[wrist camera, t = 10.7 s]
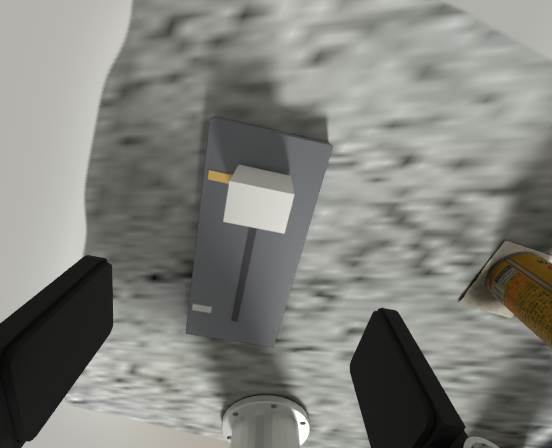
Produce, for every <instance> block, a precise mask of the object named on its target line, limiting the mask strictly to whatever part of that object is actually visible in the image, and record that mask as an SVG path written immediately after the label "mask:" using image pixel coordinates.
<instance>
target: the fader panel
mask: <svg viewBox="0 0 552 448" xmlns="http://www.w3.org/2000/svg"><path fill="white" fill-rule="evenodd" d="M332 147H333V146H332V145H331V144H330V143H329V142H324V141H320V140H315V139H311V138H307V137H302V136H298V135H294V134H289V133H285V132H281V131H276V130H272V129H268V128H263V127H259V126H254V125H250V124H246V123H241V122H237V121H233V120H228V119H224V118H220V117H212V118H210V123H209V132H208V141H207V150H206V159H205V167H204V176H203V185H202V194H201V203H200V212H199V220H198V229H197V238H196V247H195V256H194V265H193V273H192V282H191V291H190V300H189V309H188V318H187V326H186V334H191V335H198V336H204V337H210V338H216V339H223V340H229V341H235V342H242V343H248V344H254V345H261V346H267V347H273V348H274V344H275V341H276V337H277V334H278V331H279V327H280V324H281V320H282V317H283V314H284V310H285V307H286V303H287V300H288V297H289V293H290V290H291V286H292V283H293V280H294V276H295V273H296V269H297V266H298V263H299V259H300V256H301V252H302V249H303V246H304V242H305V239H306V235H307V232H308V229H309V225H310V222H311V218H312V215H313V212H314V208H315V205H316V202H317V198H318V195H319V191H320V188H321V185H322V181H323V178H324V174H325V171H326V168H327V164H328V161H329V157H330V154H331V151H332ZM238 165H243V166H248V167H253V168H257V169H262V170H267V171H271V172H276V173H280V174H285V175H290V176H291V179H292V184H293V189H294V194H295V195H294V199H293V203H292V207H291V210H290V214H289V218H288V222H287V226H286V230H285V234H283V233H278V232H273V231H268V230H263V229H258V228H252V227H247V226H242V225H237V224H232V223H227V222H223V220H224V213H225V207H226V200H227V194H228V187H229V181H230V179H231V177H232V176H233V174H234V172H235V170H236V168H237V167H238Z"/></svg>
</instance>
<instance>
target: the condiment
mask: <svg viewBox="0 0 552 448" xmlns="http://www.w3.org/2000/svg"><path fill="white" fill-rule="evenodd" d="M482 283H484V284H482ZM459 304H462V305H467V306H470V307H474V308H478V309H481V310H485V311H489V312H492V313H495V314H498V315H502V316H505V317H508V318H512V317H513V316H514V315H515V316H516V317H517V318H518V319H519V320H520V321H522V322H523V323H524V324H525V325H526V326H527V327H528V328H529V329H530V330H532V331H533V332H534V333H535V334H536V335H537V336H538V337H539V338H540V339H542V340H543V341H544V342H545V343H546V344H547V345H548V346H549V347H550V348H551V349H552V256H551V255H548V254H545V253H542V252H539V251H536V250H533V249H530V248H527V247H524V246H521V245H518V244H515V243H512V242H509V241H506V240H505V242H504V243H503V244H502V245H501V247H500V248H499V249H498V250H497V252H496V253H495V254H494V255H493V257H492V259H491V260H489V262H488V263H487V264H486V266H485V268H484V269H483V270H482V272H481V273H480V274H479V276H478V278H477V280H476V281H475V282H474V283H473V284H472V286H471V287H470V288H469V289H468V291H467V292H466V294H465V296H464V298H463V299H462V300H461V301H460V302H459Z"/></svg>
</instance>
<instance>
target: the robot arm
mask: <svg viewBox="0 0 552 448" xmlns="http://www.w3.org/2000/svg"><path fill="white" fill-rule="evenodd" d="M112 327H113V289H112V265H111V264H109V263H108V262H107V259H105V258H101V257H95V256H90V255H86V256H84V257H83V258H82V259H80V260H79V261H78V262H77V263H75V264H74V265H73V266H72V267H71V268H69V269H68V270H67V271H65V272H64V273H63V274H62V275H60V277H58V278H57V279H55V280H54V281H53V282H52V283H50V284H49V285H48V286H47V287H45V288H44V289H43V290H42V291H40V292H39V293H38V294H37V295H36V296H34V297H33V298H32V299H30V300H29V301H28V302H27V303H25V304H24V305H23V306H22V307H20V308H19V309H18V310H16V311H15V312H14V313H13V314H11V315H10V316H9V317H8V318H7V319H5V320H4V321H3V322H1V323H0V448H21V447H22V446H23V444H24V443H25V442H26V441H31V440H33V439H34V438H35V437H36V436H37V434H38V433H39V432H40V430H41V428H42V427H43V426H44V425H45V423H46V422H47V420H48V419H49V418H50V416H51V415H52V414H53V412H54V411H55V409H56V408H57V406H58V405H59V404H60V402H61V401H62V400H63V398H64V397H65V396H66V394H67V393H68V391H69V390H70V389H71V387H72V386H73V384H74V383H75V382H76V380H77V379H78V377H79V376H80V375H81V373H82V372H83V371H84V369H85V368H86V366H87V365H88V364H89V362H90V361H91V359H92V358H93V357H94V355H95V354H96V352H97V351H98V350H99V348H100V347H101V346H102V344H103V343H104V341H105V340H106V339H107V337H108V336H109V334H110V332H111V330H112ZM350 374H351V377H352V381H353V384H354V388H355V392H356V395H357V399H358V402H359V406H360V410H361V413H362V417H363V421H364V424H365V428H366V431H367V435H368V439H369V442H370V446H371V448H499V447H498V446H497V445H495V444H493V443H492V442H490V441H488V440H486V439H483V438H481V437H473V436H471V437H469V438H468V436H467V434H466V433H465V431H464V429H465V425H464V423H463V422H462V420H461V418H460V417H459V415H458V413H457V411H456V410H455V408H454V406H453V405H452V403H451V401H450V400H449V398H448V396H447V394H446V393H445V391H444V389H443V388H442V386H441V384H440V383H439V381H438V379H437V377H436V376H435V374H434V372H433V371H432V369H431V367H430V366H429V364H428V362H427V360H426V359H425V357H424V355H423V354H422V352H421V350H420V348H419V347H418V345H417V343H416V342H415V340H414V338H413V337H412V335H411V333H410V331H409V330H408V328H407V326H406V325H405V323H404V321H403V320H402V318H401V316H400V314H399V313H398V312H397V311H396V310H391V309H385V308H379V309H378V311H374V312H373V314H372V316H371V318H370V320H369V322H368V325H367V327H366V329H365V331H364V333H363V336H362V338H361V340H360V342H359V344H358V347H357V349H356V351H355V353H354V355H353V358H352V360H351V363H350ZM309 431H310V425H309V418H308V415H307V414H306V412H305V411H304V409H303V408H302V407H301V406H299V405H298V404H296V403H295V402H293V401H291V400H289V399H286V398H283V397H278V396H271V395H260V396H253V397H248V398H245V399H242V400H240V401H238V402H236V403H234V404H233V405H232V406H231V407H229V408H228V409H227V411H226V412H225V414H224V416H223V420H222V433H223V436H224V437H225V439H226V440H227V441H228V442H229V443H230V448H300V445H301V444H302V443H303V442H304V441H305V440H306V438H307V437H308V435H309Z"/></svg>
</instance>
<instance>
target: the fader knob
mask: <svg viewBox="0 0 552 448" xmlns="http://www.w3.org/2000/svg"><path fill="white" fill-rule="evenodd" d="M294 195H295V194H294V189H293V184H292V179H291V176H290V175H285V174H280V173H276V172H271V171H267V170H262V169H257V168H253V167H248V166H243V165H238V167H237V168H236V170H235V172H234V174H233V176H232V177H231V179H230V181H229V187H228V194H227V200H226V207H225V213H224V220H223V222H227V223H232V224H237V225H242V226H247V227H252V228H258V229H263V230H268V231H273V232H278V233H283V234H285V230H286V226H287V222H288V218H289V214H290V210H291V207H292V203H293V199H294Z"/></svg>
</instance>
